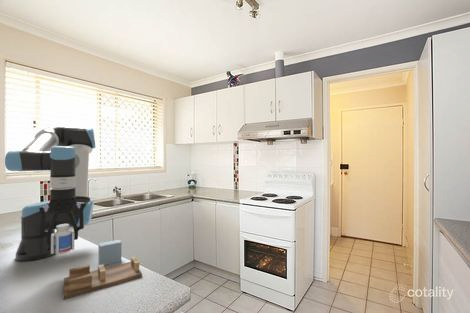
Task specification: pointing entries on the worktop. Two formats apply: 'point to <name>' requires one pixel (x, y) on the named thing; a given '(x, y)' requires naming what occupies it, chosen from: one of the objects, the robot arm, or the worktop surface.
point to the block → (109, 252)
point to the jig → (99, 277)
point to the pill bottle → (62, 239)
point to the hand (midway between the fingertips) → (62, 250)
